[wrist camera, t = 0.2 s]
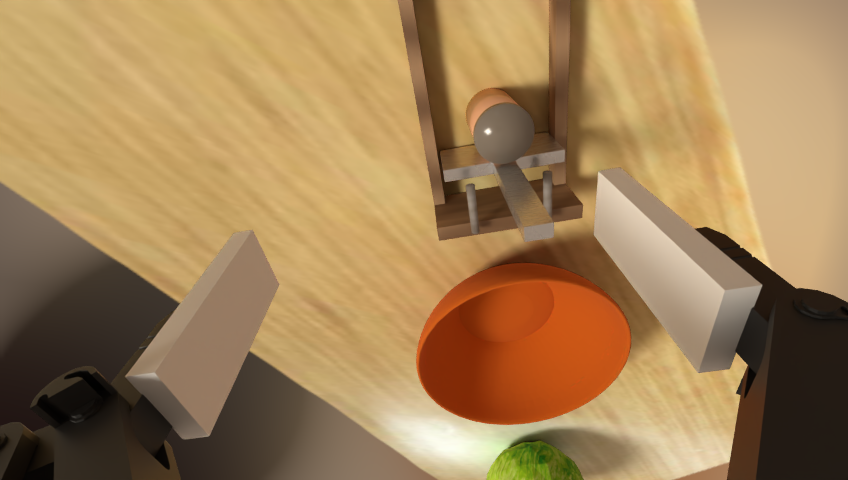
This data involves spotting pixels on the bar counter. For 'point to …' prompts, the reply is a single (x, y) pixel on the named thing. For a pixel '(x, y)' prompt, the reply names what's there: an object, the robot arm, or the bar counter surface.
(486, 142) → the terracotta spice jar
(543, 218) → the pusher
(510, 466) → the lettuce
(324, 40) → the bar counter surface
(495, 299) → the bowl
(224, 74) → the bar counter surface
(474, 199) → the lane
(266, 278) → the robot arm
